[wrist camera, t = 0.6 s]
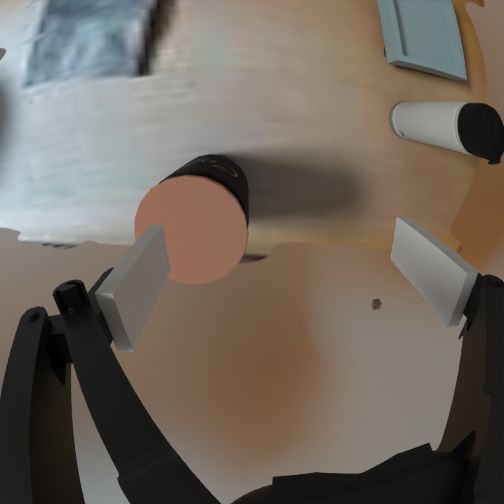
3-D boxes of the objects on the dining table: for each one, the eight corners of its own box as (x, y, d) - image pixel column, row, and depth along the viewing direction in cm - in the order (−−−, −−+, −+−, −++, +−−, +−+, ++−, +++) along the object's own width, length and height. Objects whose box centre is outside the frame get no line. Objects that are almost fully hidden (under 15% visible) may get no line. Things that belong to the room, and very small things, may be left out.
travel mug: (393, 143, 37) (479, 168, 19) (385, 103, 35) (472, 103, 17) (423, 139, 37) (510, 162, 19) (416, 101, 34) (505, 104, 16)
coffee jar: (248, 152, 38) (249, 174, 22) (248, 222, 43) (248, 286, 27) (175, 155, 38) (126, 179, 22) (180, 222, 43) (143, 284, 27)
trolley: (364, -23, 24) (396, -54, 13) (431, -3, 24) (471, -20, 12) (380, 65, 32) (424, 52, 21) (447, 80, 32) (495, 79, 20)
